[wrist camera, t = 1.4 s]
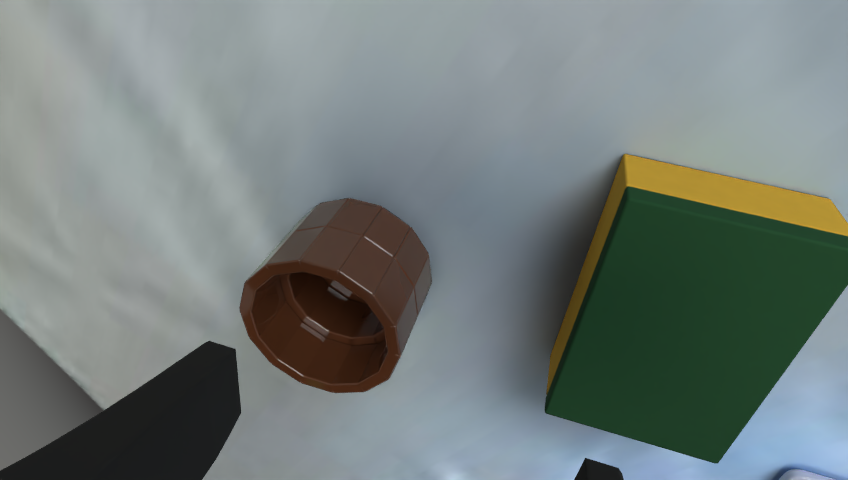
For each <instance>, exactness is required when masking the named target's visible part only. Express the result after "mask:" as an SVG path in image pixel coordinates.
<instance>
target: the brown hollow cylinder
mask: <svg viewBox="0 0 848 480" xmlns="http://www.w3.org/2000/svg"><path fill="white" fill-rule="evenodd" d="M431 282H432V278H431V269H430V259H429V255H428V252H427V250H426V249H425V247H424V246H423V244H422V243H421V241H420V239H419V238H418V236H417V235H416V233H415V232H414V230H413V228H412V227H410V226H409V225H408V224H406V223H405V222H403V221H402V220H401V219H400V218H398V217H397V216H395V215H394V214H392V213H391V212H389V211H388V210H387V209H385V208H382V206H380V205H376V204H372V203H368V202H364V201H360V200H356V199H352V198H350V199H349V198H345V199H340V200H335V201H329V202H324V203H320V204H319V205H317V206H316V207H315V208H313V209H312V210H311V211H310V212H309V213H308V214H307V215H305V216H304V217H303V218H302V219H301V220H300V221H299V222H298V223H297V224H296V225H295V226H294V228H293V229H292V230H291V231H290V232H289V233H288V234H287V235H286V237H285V238H284V239H283V240H282V241H281V242H280V243H279V244H278V246H277V247H276V248H275V249H274V250H273V251H272V252H271V253H270V254H269V256H268V257H267V258H266V259H265V260H264V261H263V262H262V263H261V265H260V266H259V267H258V268H257V269H256V270H255V271H254V272H253V274H252V275H251V276H250V277H249V278H248V279H247V280H246V282H245V283H244V288H243V293H242V298H241V303H240V313H241V316H242V319H243V322H244V324H245V327H246V330H247V333H248V336H249V337H250V339H251V341H252V342H253V343H254V344H255V345H256V346H257V348H258V349H259V350H260V351H261V352H262V354H263V355H264V356H265V357H266V358H267V359H268V361H269V362H270V363H272V365H274V366H275V367H277V368H279V369H280V370H282V371H283V372H285V373H286V374H288V375H289V376H291V377H292V378H294V379H295V380H297V381H298V382H301V383H302V384H306V385H309V386H312V387H315V388H319V389H322V390H325V391H328V392H332V393H333V392H334V393H352V392H366V391H368V390H370V389H372V388H373V387H375V386H377V385H379V384H381V383H383V382H385V381H387V380H388V379H389V378H390V377H391V375H392V373H393V371H394V369H395V367H396V365H397V363H398V361H399V359H400V357H401V355H402V352H403V350H404V348H405V345H406V343H407V340H408V338H409V336H410V333H411V331H412V329H413V326H414V324H415V322H416V319H417V317H418V314H419V312H420V310H421V307H422V305H423V303H424V300H425V298H426V296H427V293H428V291H429V288H430V286H431V284H432V283H431Z"/></svg>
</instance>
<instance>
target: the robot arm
mask: <svg viewBox="0 0 848 480" xmlns="http://www.w3.org/2000/svg"><path fill="white" fill-rule="evenodd" d="M240 414H241V405H240V394H239V383H238V372H237V361H236V350H235V349H233V348H230V347H227V346H224V345H221V344H217V343H214V342H211V341H208V342H206V343H204V344H203V345H201V346H200V347H198V348H197V349H195V350H194V351H192V352H191V353H189V354H188V355H186V356H185V357H183V358H182V359H181V360H179V361H178V362H176V363H175V364H173V365H172V366H170V367H169V368H167V369H166V370H165V371H163V372H162V373H160V374H159V375H157V376H156V377H154V378H153V379H151V380H150V381H148V382H147V383H145V384H144V385H142V386H141V387H139V388H138V389H136V390H135V391H133V392H132V393H130V394H129V395H127V396H126V397H124V398H123V399H121V400H119V401H118V402H116V403H115V404H113V405H112V406H110V407H109V408H107V409H106V410H104V411H103V412H101V413H99V414H98V415H96V416H95V417H93V418H91V419H90V420H88V421H86V422H85V423H83V424H81V425H80V426H78V427H76V428H75V429H73V430H72V431H70V432H68V433H67V434H65V435H63V436H61V437H60V438H58V439H56V440H55V441H53V442H51V443H50V444H48V445H46V446H45V447H43V448H41V449H39V450H37V451H36V452H34V453H32V454H31V455H29V456H27V457H25V458H23V459H21V460H19V461H18V462H16V463H14V464H12V465H10V466H8V467H7V468H5V469H3V470H1V471H0V480H202V479H203V477H204V476H205V474H206V473H207V472H208V470H209V469H210V467H211V466H212V464H213V463H214V461H215V460H216V458H217V457H218V455H219V453H220V451H221V449H222V448H223V446H224V444H225V442H226V440H227V439H228V437H229V435H230V433H231V431H232V429H233V427H234V425H235V423H236V421H237V419H238V418H239V416H240ZM574 480H623V476H622V473H621V471H620V470H619V468H616V467H613V466H610V465H606V464H603V463H600V462H597V461H594V460H590V459H587V458H585V460H584V462H583V464H582V466H581V468H580V470H579V472H578V474H577V476H576V477H575V479H574ZM779 480H835V479H832V478H829V477H825V476H822V475H818V474H815V473H811V472H808V471H805V470H800V469H792V470H789V471H787V472H786V473H784V474H783V475H782V477H781V478H780V479H779Z"/></svg>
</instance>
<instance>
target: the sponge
mask: <svg viewBox="0 0 848 480" xmlns="http://www.w3.org/2000/svg"><path fill="white" fill-rule="evenodd" d="M847 285H848V223H847V222H846V220H845V219H844V218H843V216H842V215H841V213H840V212H839V211H838V209H837V208H836V206H835V205H834V204H833V202H832V201H831V200H830V199H827V198H823V197H818V196H814V195H809V194H805V193H800V192H796V191H791V190H787V189H782V188H778V187H773V186H769V185H764V184H759V183H755V182H750V181H746V180H741V179H737V178H732V177H728V176H723V175H719V174H714V173H710V172H705V171H701V170H696V169H692V168H687V167H682V166H678V165H673V164H669V163H664V162H660V161H655V160H651V159H646V158H642V157H637V156H633V155H628V154H624V155H623V157H622V159H621V162H620V165H619V168H618V171H617V173H616V176H615V179H614V182H613V184H612V187H611V190H610V193H609V195H608V198H607V201H606V204H605V206H604V209H603V212H602V215H601V217H600V220H599V223H598V226H597V228H596V231H595V234H594V237H593V239H592V242H591V245H590V248H589V251H588V253H587V256H586V259H585V262H584V264H583V267H582V270H581V273H580V275H579V278H578V281H577V284H576V286H575V289H574V292H573V295H572V297H571V300H570V303H569V306H568V308H567V311H566V314H565V317H564V319H563V322H562V325H561V328H560V330H559V333H558V336H557V339H556V342H555V344H554V347H553V350H552V353H551V355H550V364H549V374H548V383H547V392H546V395H547V396H546V403H545V413H547V414H550V415H553V416H557V417H560V418H564V419H567V420H570V421H574V422H577V423H580V424H584V425H587V426H591V427H594V428H597V429H601V430H604V431H608V432H611V433H614V434H618V435H621V436H624V437H628V438H631V439H635V440H638V441H641V442H645V443H648V444H651V445H655V446H658V447H662V448H665V449H668V450H672V451H675V452H679V453H682V454H685V455H689V456H692V457H695V458H699V459H702V460H706V461H709V462H712V463H718V462H719V461H720V460H721V458H722V457H723V456H724V454H725V453H726V451H727V450H728V449H729V447H730V446H731V445H732V443H733V442H734V440H735V439H736V438H737V436H738V435H739V434H740V432H741V431H742V429H743V428H744V427H745V425H746V424H747V423H748V421H749V420H750V418H751V417H752V416H753V414H754V413H755V412H756V410H757V409H758V407H759V406H760V405H761V403H762V402H763V401H764V399H765V398H766V396H767V395H768V394H769V392H770V391H771V390H772V388H773V387H774V385H775V384H776V383H777V381H778V380H779V379H780V377H781V376H782V374H783V373H784V372H785V370H786V369H787V368H788V366H789V365H790V363H791V362H792V361H793V359H794V358H795V357H796V355H797V354H798V352H799V351H800V350H801V348H802V347H803V346H804V344H805V343H806V341H807V340H808V339H809V337H810V336H811V335H812V333H813V332H814V330H815V329H816V328H817V326H818V325H819V324H820V322H821V321H822V319H823V318H824V317H825V315H826V314H827V313H828V311H829V310H830V308H831V307H832V306H833V304H834V303H835V302H836V300H837V299H838V297H839V296H840V295H841V293H842V292H843V291H844V289H845V288H846V286H847Z"/></svg>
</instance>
